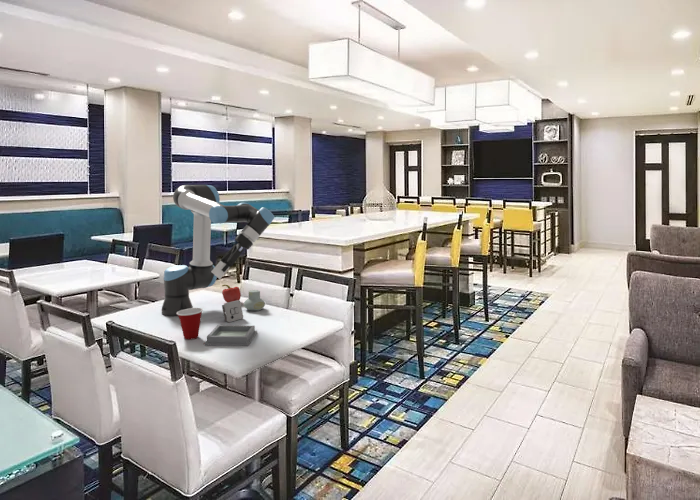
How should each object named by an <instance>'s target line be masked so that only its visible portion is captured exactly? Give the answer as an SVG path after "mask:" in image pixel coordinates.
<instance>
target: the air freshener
mask: <svg viewBox="0 0 700 500" xmlns="http://www.w3.org/2000/svg"><path fill="white" fill-rule="evenodd" d="M265 306H266V302H265V301H264V299H262V298H261V291H260V290H259V289H252V290H248V299H245V300H244V303H243V307H244V308H245V309H246V310H248V311H251V312H259V311H261V310H262V309H264V307H265Z"/></svg>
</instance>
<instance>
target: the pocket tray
mask: <svg viewBox="0 0 700 500" xmlns="http://www.w3.org/2000/svg"><path fill="white" fill-rule="evenodd" d="M255 327H256V326H255V325H242V324H241V325H233V324H230V325H228V324H226V325H225V324H223V325H222V324H217V325H216V326H215V327H214V329H212V330H211V332H209V334H208V335H207V336H206V341H205V342H204V344H203V345H204V346H213V347H214V346H220V347H221V346H224V347H226V346H227V347H249V346H250V344H251V342H252V341H254V338H255V336H256V335H257V333H258V331H257V330H256V328H255Z"/></svg>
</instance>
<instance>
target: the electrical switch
mask: <svg viewBox="0 0 700 500" xmlns="http://www.w3.org/2000/svg"><path fill="white" fill-rule="evenodd" d="M221 308H222V313H223V318H224V322H227V323H231V322H235V321H239V320H243V319H244V315H243V313H244V312H243V309H242V304H241V300H237V301H232V302H228V303H227V302H224V303H223V305H221Z"/></svg>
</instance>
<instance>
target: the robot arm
mask: <svg viewBox="0 0 700 500" xmlns="http://www.w3.org/2000/svg"><path fill="white" fill-rule="evenodd" d="M172 198H173V199H172V200H173V203H174V204H175V206H177V207H178V208H180V209H181V210H185V211H187V210H190V212H191V213H192V214H193V228H192V229H193V232H192V233H193V236H192V239H193V241H192V243H193V244H192V260H191V261H189V266H187V265H185V264H182V265H181V264H179V265H174V266H173V265H172V266H171V267H167V268H165V270H164V272H163V285H164V287H163V288H164V299H163V303H162V306H161V315H163V316H170V317H177V316H178V315H177V314H176V313H177V312H178V311H180V310H184V309H189V308H194V307H193V304H192V301H191V299H190V291H193V290H198V289H206V288H209V287H212V286H213V285H215V283H216V282H217V278H218V279H219V280H220V279H222V278H223V276H224V275H225V274H226V272H228V270H229V269H230V268H231V267H233V266H234V264H235V262H236V261H237V260H238V259H239V257H240V255H241V254H242V253H243V251H245V250H250V249H251V247H252V246H253V243H256V241H258V240H259V239H260V238H259V237H260V236H261V235H262V234H263V233H264V232H265V230H266V229H267V228H268V227H269V226H270V225H271V223H272V222H273V221H274V219H275V215H274V214H273V213H272V212H271V210H269V209H268V208H266V207H263V206H262V207H261V208H260V209H257V208H256V207H254V206H252V205H251V204H249V203H247V202H240V203H237V205H226V204H225V205H224V204H222V203H220V202H221V201H220V199H221V198H220V194H219V192H218V190H217V188H216V187H215V186H213V185H210V184H209V185H208V184H183V185H180V186H179V187H177V188H176V189H175V190H174V192H173V194H172ZM212 223H213V224H219V225H220V224H229V223H231V224H232V223H246V224H245V226H244V227H243V228H242V230H241V231H240V233H238V234H237V235H236V236H235V238H234V240H235V241H236V242H237V243H235V244H233V246H232V247H231V248H230V249H229V250H228V251H227V252H226V253H225V254H224V255H223V256H222V257H221V259H220V260H219V261H218V263H217V264H216V265H214V263H213V261H211V238H212V237H211V232H212Z"/></svg>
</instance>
